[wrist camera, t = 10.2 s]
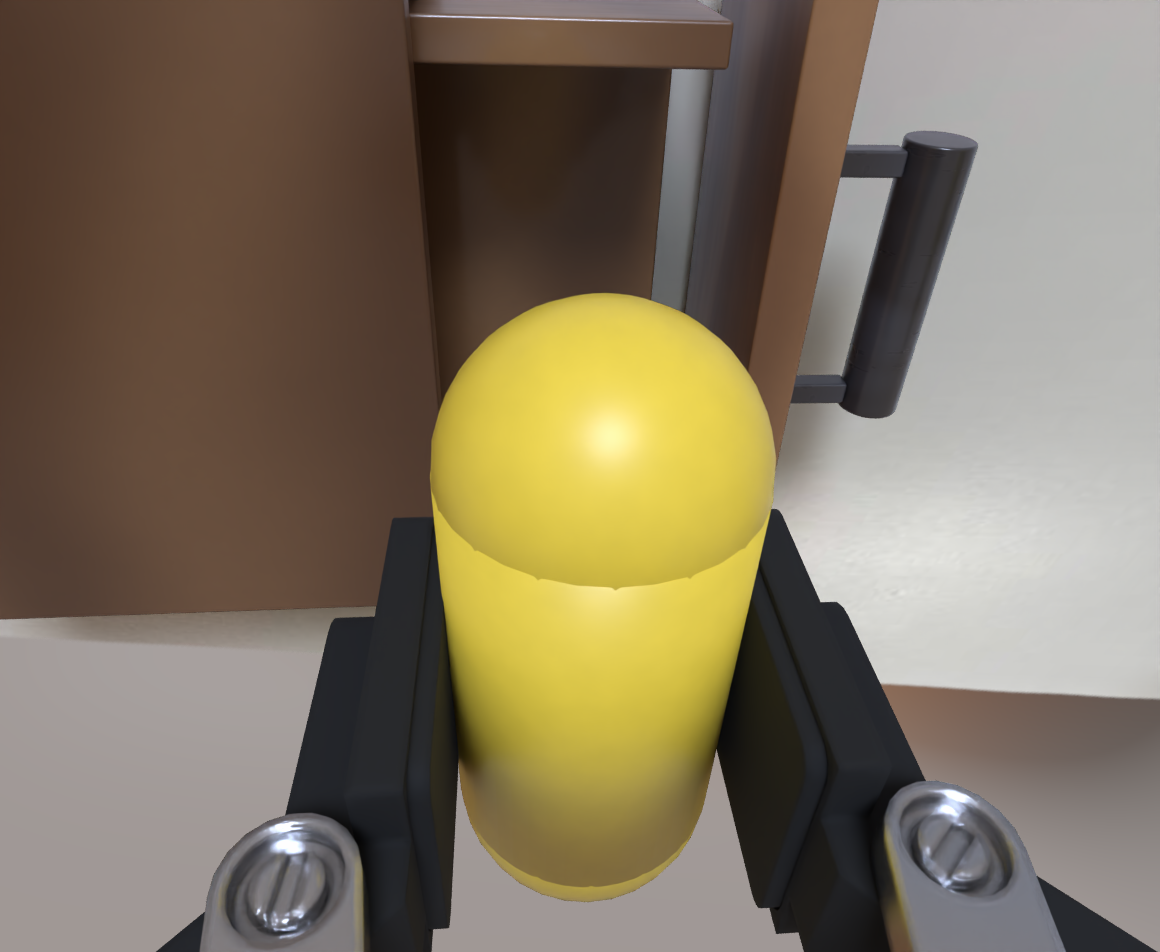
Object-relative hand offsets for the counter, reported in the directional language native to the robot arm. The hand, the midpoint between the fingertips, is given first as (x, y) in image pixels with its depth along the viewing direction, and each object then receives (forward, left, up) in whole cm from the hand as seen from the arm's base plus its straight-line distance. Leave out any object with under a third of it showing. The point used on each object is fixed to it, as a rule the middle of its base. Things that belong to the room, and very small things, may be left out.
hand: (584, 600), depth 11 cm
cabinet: (-6, -9, -16) cm, 19 cm away
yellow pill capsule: (0, +1, 0) cm, 1 cm away
